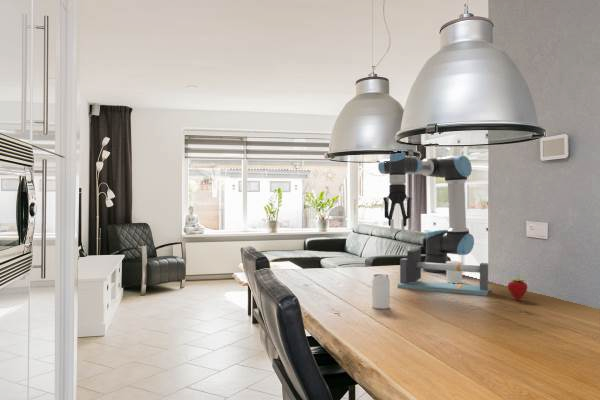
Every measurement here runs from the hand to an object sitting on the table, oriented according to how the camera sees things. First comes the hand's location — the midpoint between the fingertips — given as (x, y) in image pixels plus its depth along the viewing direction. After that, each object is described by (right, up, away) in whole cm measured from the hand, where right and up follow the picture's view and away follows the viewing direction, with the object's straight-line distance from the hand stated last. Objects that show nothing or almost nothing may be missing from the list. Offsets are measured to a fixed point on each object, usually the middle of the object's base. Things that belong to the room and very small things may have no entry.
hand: (397, 232), depth 215 cm
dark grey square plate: (+7, -22, -4) cm, 23 cm away
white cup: (+29, -25, +6) cm, 39 cm away
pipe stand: (+19, -25, -10) cm, 32 cm away
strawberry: (+41, -25, -33) cm, 59 cm away
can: (-16, -25, -46) cm, 55 cm away
